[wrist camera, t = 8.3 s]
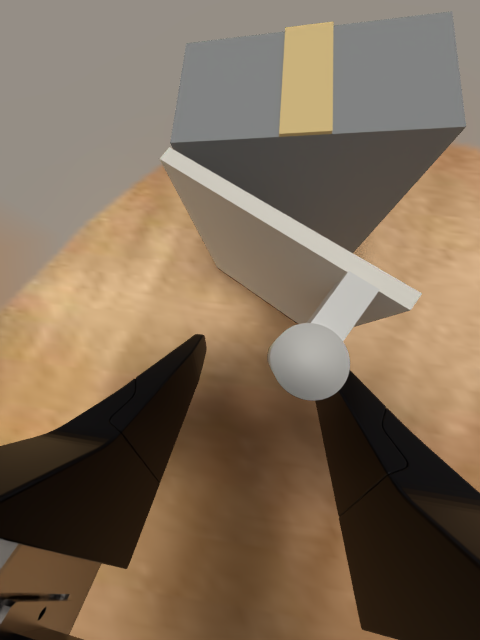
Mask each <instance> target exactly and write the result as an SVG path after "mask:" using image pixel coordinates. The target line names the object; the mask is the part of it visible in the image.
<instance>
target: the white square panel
mask: <svg viewBox="0 0 480 640" xmlns="http://www.w3.org/2000/svg"><path fill="white" fill-rule="evenodd" d="M160 161H161V163H162V164H163V166H164V168H165V170H166V172H167V174H168V176H169V178H170V179H171V181H172V183H173V185H174V187H175V189H176V191H177V193H178V195H179V196H180V198H181V200H182V202H183V204H184V206H185V208H186V210H187V211H188V213H189V215H190V217H191V219H192V221H193V223H194V225H195V227H196V228H197V230H198V232H199V234H200V236H201V238H202V240H203V242H204V244H205V245H206V247H207V249H208V251H209V253H210V255H211V257H212V259H213V260H214V262H215V264H216V266H217V268H219V269H220V270H222V271H223V272H225V273H226V274H228V275H229V276H230V277H232V278H233V279H235V280H236V281H238V282H239V283H240V284H242V285H243V286H245V287H246V288H248V289H249V290H251V291H252V292H253V293H255V294H256V295H258V296H259V297H261V298H262V299H263V300H265V301H266V302H268V303H269V304H271V305H272V306H274V307H275V308H276V309H278V310H279V311H281V312H282V313H284V314H285V315H286V316H288V317H289V318H291V319H292V320H294V321H295V322H296V323H298V324H297V325H295V326H292V327H290V328H288V329H287V330H285V331H284V332H283V333H282V334H281V335H280V336H279V337H278V338H277V339H276V340H275V341H274V342H273V343H272V345H271V346H270V348H269V350H268V354H267V360H268V363H269V366H270V368H271V370H272V371H273V373H274V375H275V377H276V379H277V381H278V382H279V383H280V385H281V386H282V387H283V388H284V389H285V390H286V391H287V392H289V393H290V394H292V395H294V396H295V397H298V398H300V399H304V400H312V401H313V400H322V399H325V398H328V397H330V396H332V395H334V394H335V393H337V392H338V391H339V390H340V389H341V388H342V386H343V385H344V383H345V382H346V380H347V377H348V374H349V370H350V359H349V354H348V350H347V348H346V346H345V344H344V343H343V341H344V339H345V338H346V336H347V335H348V334H349V332H350V331H351V329H352V328H353V327H355V326H359V325H362V324H365V323H369V322H372V321H376V320H379V319H382V318H386V317H389V316H393V315H396V314H399V313H403V312H406V311H410V310H411V309H412V307H413V306H414V305H415V303H416V302H417V300H418V299H419V297H420V296H421V294H422V293H420V292H418V291H417V290H415V289H413V288H412V287H410V286H408V285H406V284H405V283H403V282H401V281H399V280H398V279H396V278H394V277H393V276H391V275H389V274H387V273H386V272H384V271H382V270H380V269H379V268H377V267H375V266H374V265H372V264H370V263H368V262H367V261H365V260H363V259H361V258H360V257H358V256H356V255H355V254H353V253H351V252H349V251H348V250H346V249H344V248H343V247H341V246H339V245H337V244H336V243H334V242H332V241H330V240H329V239H327V238H325V237H324V236H322V235H320V234H318V233H317V232H315V231H313V230H311V229H310V228H308V227H306V226H305V225H303V224H301V223H299V222H298V221H296V220H294V219H292V218H291V217H289V216H287V215H286V214H284V213H282V212H280V211H279V210H277V209H275V208H273V207H272V206H270V205H268V204H267V203H265V202H263V201H261V200H260V199H258V198H256V197H254V196H253V195H251V194H249V193H248V192H246V191H244V190H242V189H241V188H239V187H237V186H236V185H234V184H232V183H230V182H229V181H227V180H225V179H223V178H222V177H220V176H218V175H217V174H215V173H213V172H211V171H210V170H208V169H206V168H204V167H203V166H201V165H199V164H198V163H196V162H194V161H192V160H191V159H189V158H187V157H185V156H184V155H182V154H180V153H179V152H177V151H175V150H173V149H172V148H168V150H167V151H166V152H165V153H164V154H163V155H162V157H161V158H160Z"/></svg>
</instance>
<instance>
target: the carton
mask: <svg viewBox="0 0 480 640" xmlns="http://www.w3.org/2000/svg"><path fill="white" fill-rule="evenodd" d="M465 127H466V122H465V114H464V106H463V98H462V89H461V82H460V73H459V65H458V56H457V48H456V41H455V32H454V23H453V16H452V12H444V13H436V14H427V15H419V16H411V17H402V18H394V19H386V20H377V21H369V22H360V23H352V24H344V25H336V26H333V22H327V23H318V24H310V25H302V26H294V27H286V28H285V32H279V33H269V34H262V35H252V36H244V37H236V38H228V39H220V40H211V41H203V42H194V43H187V44H186V49H185V56H184V62H183V68H182V74H181V80H180V86H179V93H178V100H177V105H176V111H175V118H174V123H173V130H172V136H171V142H170V143H171V145H172V148H173V150H175V151H177V152H179V153H180V154H182V155H184V156H185V157H187V158H189V159H191V160H192V161H194V162H196V163H198V164H199V165H201V166H203V167H204V168H206V169H208V170H210V171H211V172H213V173H215V174H217V175H218V176H220V177H222V178H223V179H225V180H227V181H229V182H230V183H232V184H234V185H236V186H237V187H239V188H241V189H242V190H244V191H246V192H248V193H249V194H251V195H253V196H254V197H256V198H258V199H260V200H261V201H263V202H265V203H267V204H268V205H270V206H272V207H273V208H275V209H277V210H279V211H280V212H282V213H284V214H286V215H287V216H289V217H291V218H292V219H294V220H296V221H298V222H299V223H301V224H303V225H305V226H306V227H308V228H310V229H311V230H313V231H315V232H317V233H318V234H320V235H322V236H324V237H325V238H327V239H329V240H330V241H332V242H334V243H336V244H337V245H339V246H341V247H343V248H344V249H346V250H348V251H349V252H351V253H353V252H354V251H355V250H356V249H357V248H358V247H359V246H360V245H361V243H362V242H363V241H364V240H365V239H366V238H367V237H368V236H369V235H370V233H371V232H372V231H373V230H374V229H375V228H376V227H377V226H378V224H379V223H380V222H381V221H382V220H383V219H384V218H385V217H386V216H387V214H388V213H389V212H390V211H391V210H392V209H393V208H394V207H395V205H396V204H397V203H398V202H399V201H400V200H401V199H402V198H403V197H404V195H405V194H406V193H407V192H408V191H409V190H410V189H411V188H412V186H413V185H414V184H415V183H416V182H417V181H418V180H419V179H420V178H421V176H422V175H423V174H424V173H425V172H426V171H427V170H428V169H429V167H430V166H431V165H432V164H433V163H434V162H435V161H436V160H437V159H438V157H439V156H440V155H441V154H442V153H443V152H444V151H445V150H446V148H447V147H448V146H449V145H450V144H451V143H452V142H453V141H454V140H455V138H456V137H457V136H458V135H459V134H460V133H461V132H462V131H463V129H464V128H465Z"/></svg>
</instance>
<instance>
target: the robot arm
mask: <svg viewBox="0 0 480 640" xmlns="http://www.w3.org/2000/svg"><path fill="white" fill-rule="evenodd" d="M205 354H206V341H205V336H204V335H201V334H195V335H194V336H192V337H191V338H190V339H188V340H187V341H186V342H184V343H183V344H181V345H180V346H179V347H177V348H176V349H175V350H173V351H172V352H170V353H169V354H168V355H166V356H165V357H164V358H162V359H161V360H160V361H158V362H157V363H155V364H154V365H153V366H151V367H150V368H149V369H147V370H146V371H144V372H143V373H142V374H140V375H139V376H138V377H136V379H133V380H132V381H131V382H129V383H128V384H127V385H125V386H124V387H122V388H121V389H119V390H118V391H117V392H115V393H114V394H112V395H110V396H109V397H107V398H106V399H104V400H103V401H101V402H100V403H98V404H96V405H95V406H93V407H92V408H90V409H89V410H87V411H85V412H84V413H82V414H81V415H79V416H77V417H76V418H74V419H73V420H71V421H69V422H68V423H66V424H64V425H63V426H61V427H59V428H57V429H55V430H53V431H51V432H49V433H46V434H43V435H40V436H37V437H33V438H30V439H26V440H22V441H18V442H14V443H10V444H7V445H3V446H0V640H83V639H80V638H77V637H74V636H71V635H69V634H70V632H71V630H72V627H73V625H74V623H75V621H76V619H77V616H78V614H79V612H80V610H81V608H82V605H83V603H84V601H85V599H86V597H87V594H88V592H89V590H90V588H91V586H92V583H93V581H94V579H95V577H96V575H97V572H98V570H99V568H100V566H101V564H102V563H103V564H107V565H111V566H115V567H119V568H124V569H127V568H128V565H129V563H130V560H131V558H132V555H133V553H134V550H135V547H136V545H137V542H138V539H139V537H140V534H141V532H142V529H143V526H144V524H145V521H146V518H147V516H148V513H149V511H150V508H151V505H152V503H153V500H154V497H155V495H156V492H157V489H158V487H159V483H160V481H161V479H162V476H163V473H164V471H165V468H166V466H167V463H168V460H169V458H170V455H171V452H172V450H173V447H174V445H175V442H176V439H177V437H178V434H179V431H180V429H181V426H182V424H183V421H184V418H185V416H186V413H187V410H188V408H189V405H190V402H191V400H192V397H193V395H194V392H195V389H196V387H197V384H198V381H199V378H200V374H201V370H202V366H203V362H204V358H205ZM315 402H316V407H317V412H318V417H319V422H320V427H321V432H322V437H323V441H324V446H325V451H326V456H327V461H328V466H329V471H330V476H331V481H332V486H333V491H334V496H335V501H336V506H337V511H338V515H339V521H340V526H341V531H342V536H343V541H344V546H345V551H346V555H347V560H348V565H349V570H350V575H351V580H352V585H353V590H354V595H355V600H356V605H357V610H358V615H359V619H360V624H361V628H362V630H365V631H369V632H372V633H376V634H380V635H383V636H387V637H390V638H394V639H398V640H480V493H479V492H478V491H477V490H476V489H474V488H473V487H472V486H471V485H470V484H469V483H468V482H467V481H465V480H464V479H463V478H462V477H461V476H460V475H459V474H458V473H456V472H455V471H454V470H453V469H452V468H451V467H450V466H449V465H447V464H446V463H445V462H444V461H443V460H442V459H441V458H440V457H438V456H437V455H436V454H435V453H434V452H433V451H432V450H431V449H429V448H428V447H427V446H426V445H425V444H424V443H423V442H422V441H421V440H420V439H419V438H417V437H416V436H415V435H414V434H413V433H412V432H411V431H410V430H409V429H408V428H407V427H406V426H405V425H404V424H403V423H402V422H401V421H400V420H399V419H398V418H397V417H396V416H395V415H394V414H393V413H392V412H391V411H390V410H389V409H388V408H386V406H385V405H384V404H383V403H382V402H381V401H380V400H379V399H378V398H377V397H376V396H375V395H374V394H373V393H372V392H371V391H370V390H369V389H368V388H367V387H366V386H365V385H364V384H363V383H362V382H361V381H360V380H359V379H358V378H357V377H356V376H355V375H354V374H353V373H352V372H351V371H350V370H349V374H348V377H347V380H346V382H345V383H344V385H343V386H342V388H341V389H340V390H339V391H338V392H337V393H335V394H334V395H332V396H330V397H328V398H325V399H322V400H315Z"/></svg>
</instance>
